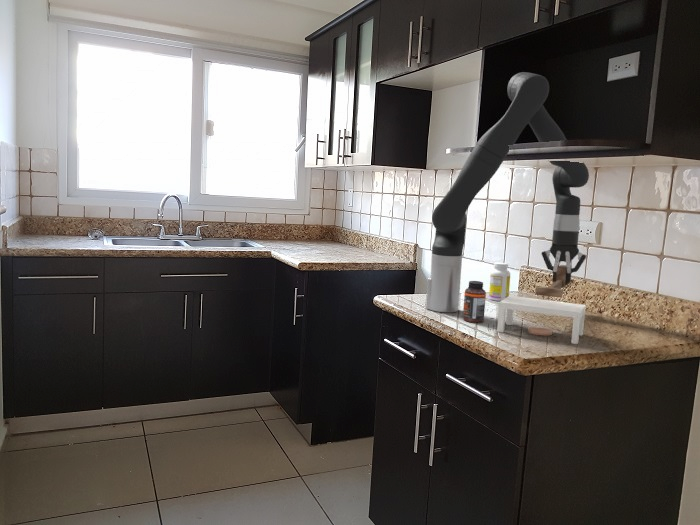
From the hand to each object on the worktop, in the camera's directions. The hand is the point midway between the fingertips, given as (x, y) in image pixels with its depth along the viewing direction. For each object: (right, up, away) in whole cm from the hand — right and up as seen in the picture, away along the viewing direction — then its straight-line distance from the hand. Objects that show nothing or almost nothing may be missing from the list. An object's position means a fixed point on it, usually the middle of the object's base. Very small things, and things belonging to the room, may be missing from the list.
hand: (561, 284), depth 177 cm
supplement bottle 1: (-31, -10, -16) cm, 36 cm away
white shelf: (-16, -12, -27) cm, 34 cm away
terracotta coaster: (-16, -12, -27) cm, 34 cm away
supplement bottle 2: (-15, -6, +20) cm, 25 cm away
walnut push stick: (-4, -1, -8) cm, 9 cm away
